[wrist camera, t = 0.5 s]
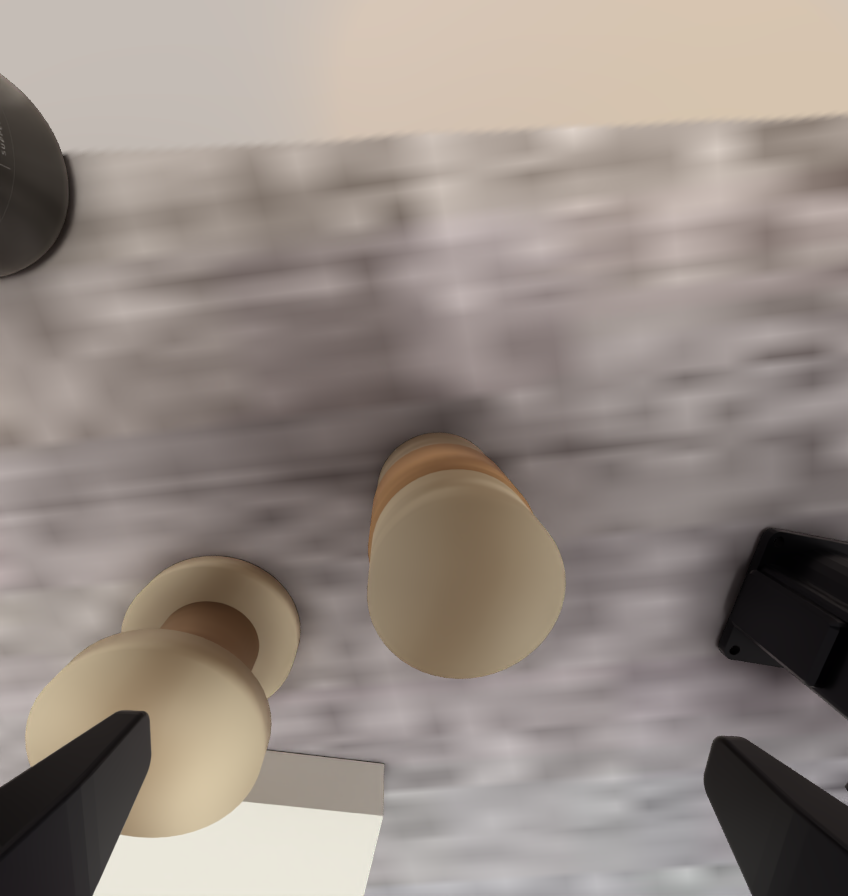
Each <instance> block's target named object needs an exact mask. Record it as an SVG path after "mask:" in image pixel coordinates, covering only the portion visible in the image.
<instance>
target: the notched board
mask: <svg viewBox="0 0 848 896" xmlns="http://www.w3.org/2000/svg"><path fill="white" fill-rule="evenodd" d="M383 799H384V764H381V763H372V762H363V761H355V760H346V759H337V758H329V757H320V756H312V755H303V754H294V753H286V752H277V751H268V750H266V753H265V756H264V760H263V763H262V766H261V769H260V773H259V775H258V778H257V780H256V782H255V784H254V786H253V788H252V789H251V791H250V792H249V794H248V795H247V797H246V798H245V799H244V800H243V801H242V802H241V804H240V805H239V806H237V807H236V808H235V809H234V810H233V811H232V812H231V813H229V814H228V815H226V816H225V817H224V818H222V819H221V820H219V821H217V822H215V823H213V824H211V825H209V826H207V827H205V828H202V829H200V830H197V831H194V832H190V833H186V834H183V835H177V836H171V837H160V838H143V837H132V836H125V835H120V836H119V838H118V841H117V843H116V845H115V847H114V850H113V852H112V854H111V856H110V859H109V861H108V863H107V865H106V868H105V870H104V872H103V874H102V877H101V879H100V881H99V883H98V885H97V887H96V890H95V892H94V894H93V896H364V892H365V888H366V884H367V880H368V876H369V872H370V868H371V864H372V860H373V855H374V851H375V847H376V843H377V839H378V835H379V831H380V827H381V823H382V819H383Z"/></svg>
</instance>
